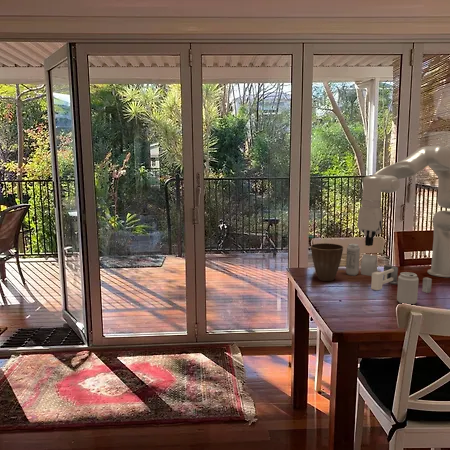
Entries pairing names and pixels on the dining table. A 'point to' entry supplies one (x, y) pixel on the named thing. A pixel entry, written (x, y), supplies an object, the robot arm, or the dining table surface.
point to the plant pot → (326, 260)
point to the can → (407, 288)
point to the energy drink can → (352, 259)
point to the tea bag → (368, 264)
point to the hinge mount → (389, 274)
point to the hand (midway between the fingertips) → (368, 245)
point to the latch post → (427, 285)
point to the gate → (378, 278)
